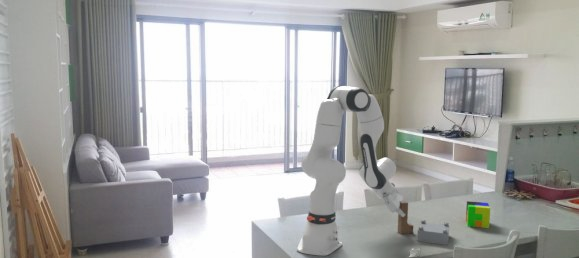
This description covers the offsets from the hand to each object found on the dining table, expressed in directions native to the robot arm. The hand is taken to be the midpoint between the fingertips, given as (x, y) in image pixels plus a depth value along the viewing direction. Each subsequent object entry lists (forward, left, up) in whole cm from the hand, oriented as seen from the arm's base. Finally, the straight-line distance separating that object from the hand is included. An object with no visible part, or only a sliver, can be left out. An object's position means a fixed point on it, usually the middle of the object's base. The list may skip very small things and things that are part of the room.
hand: (405, 213), depth 227 cm
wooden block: (0, 0, -10) cm, 10 cm away
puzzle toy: (+27, -32, -10) cm, 43 cm away
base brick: (-3, -13, -9) cm, 17 cm away
